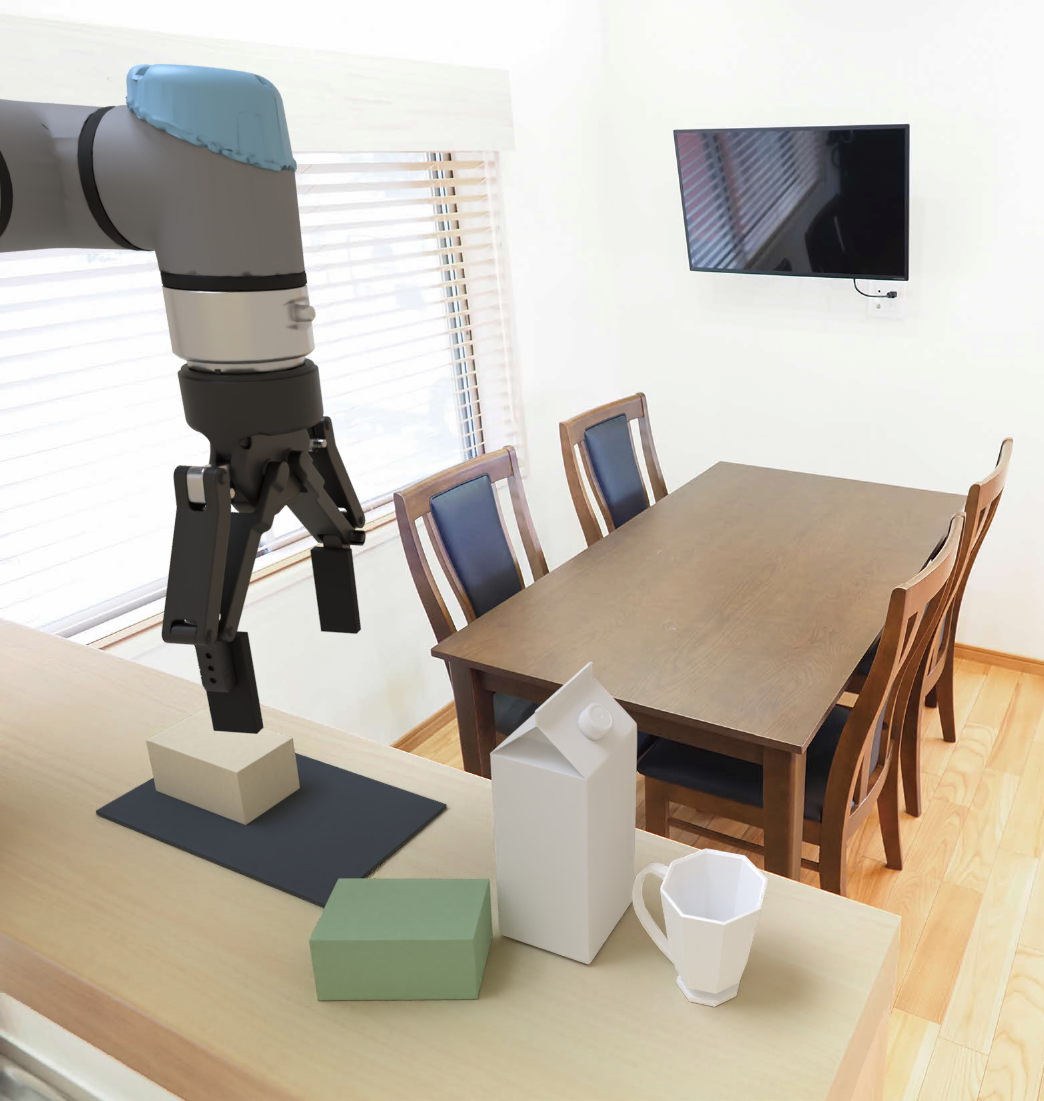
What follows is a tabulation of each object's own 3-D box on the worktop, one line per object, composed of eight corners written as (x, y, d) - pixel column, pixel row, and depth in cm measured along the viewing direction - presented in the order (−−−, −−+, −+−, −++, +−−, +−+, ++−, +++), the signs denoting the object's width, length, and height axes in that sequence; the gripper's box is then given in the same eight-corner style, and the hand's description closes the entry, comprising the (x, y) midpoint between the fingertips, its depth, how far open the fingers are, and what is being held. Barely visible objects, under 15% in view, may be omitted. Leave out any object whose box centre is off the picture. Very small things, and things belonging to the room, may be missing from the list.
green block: (317, 1001, 59) (308, 939, 57) (345, 935, 64) (338, 877, 62) (477, 999, 60) (473, 939, 58) (493, 935, 65) (489, 878, 63)
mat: (96, 814, 75) (95, 810, 74) (234, 735, 86) (233, 731, 86) (328, 909, 66) (327, 905, 66) (446, 807, 78) (446, 803, 77)
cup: (722, 1043, 58) (728, 941, 55) (600, 966, 63) (601, 870, 60) (781, 972, 63) (790, 876, 60) (665, 907, 68) (668, 816, 65)
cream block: (300, 788, 78) (293, 737, 77) (245, 825, 74) (236, 772, 72) (213, 757, 82) (204, 707, 80) (155, 791, 77) (145, 739, 75)
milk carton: (498, 936, 65) (486, 698, 58) (550, 872, 71) (545, 650, 64) (588, 967, 63) (588, 724, 56) (635, 898, 69) (639, 672, 62)
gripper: (179, 409, 43) (247, 789, 51) (395, 332, 67) (419, 602, 74) (25, 400, 44) (115, 779, 52) (293, 327, 67) (327, 596, 75)
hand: (295, 675), depth 63 cm, fingers open, 13 cm apart
